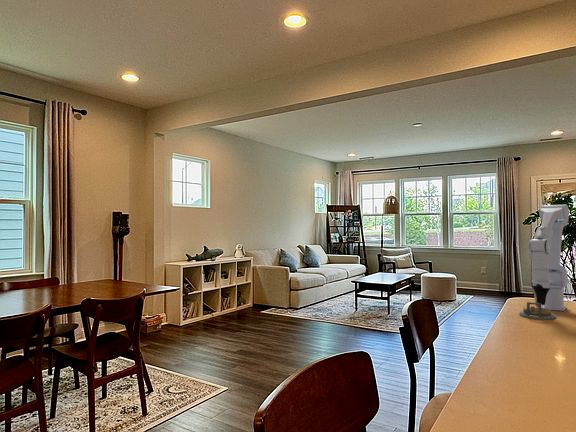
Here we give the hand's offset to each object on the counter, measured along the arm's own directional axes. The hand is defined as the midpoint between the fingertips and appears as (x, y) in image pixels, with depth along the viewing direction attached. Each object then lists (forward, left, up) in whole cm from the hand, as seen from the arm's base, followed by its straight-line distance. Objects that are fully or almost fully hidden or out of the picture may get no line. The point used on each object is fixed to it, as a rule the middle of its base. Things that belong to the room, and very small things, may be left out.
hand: (541, 304), depth 159 cm
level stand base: (+3, -1, -4) cm, 5 cm away
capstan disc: (+3, -1, -3) cm, 4 cm away
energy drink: (-33, -5, -4) cm, 33 cm away
